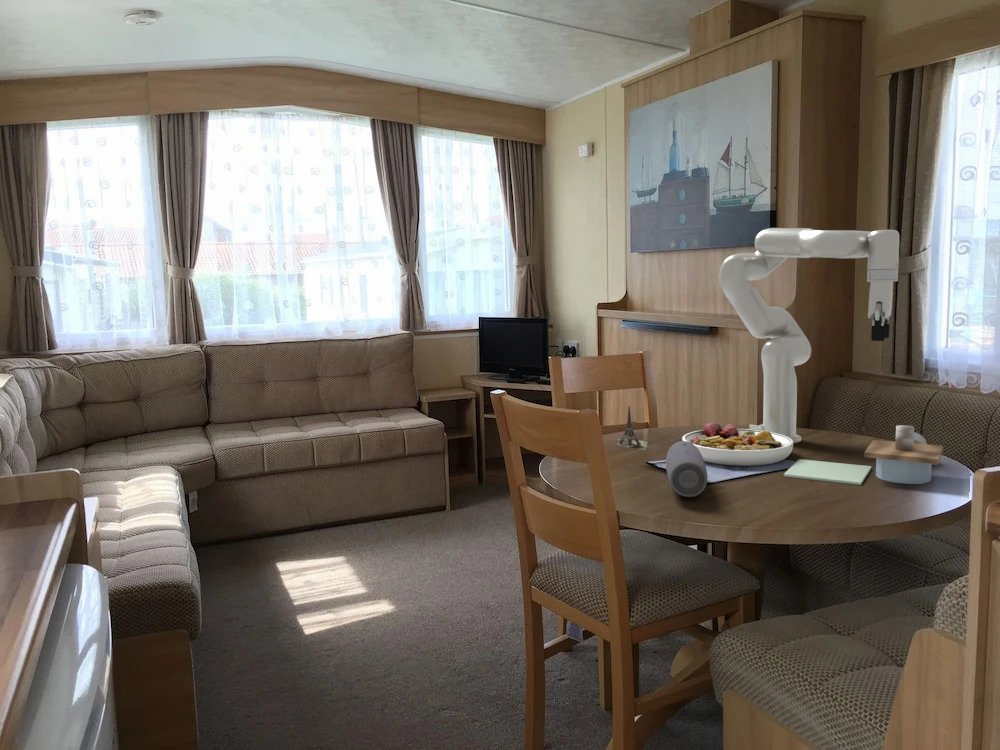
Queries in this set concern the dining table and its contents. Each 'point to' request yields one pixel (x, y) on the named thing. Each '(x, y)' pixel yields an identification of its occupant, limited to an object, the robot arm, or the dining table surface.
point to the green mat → (828, 471)
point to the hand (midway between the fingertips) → (880, 339)
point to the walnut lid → (904, 448)
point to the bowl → (739, 445)
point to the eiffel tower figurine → (631, 436)
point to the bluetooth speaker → (686, 469)
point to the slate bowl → (903, 471)
